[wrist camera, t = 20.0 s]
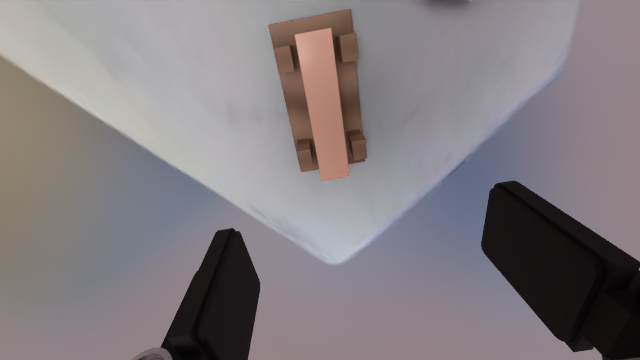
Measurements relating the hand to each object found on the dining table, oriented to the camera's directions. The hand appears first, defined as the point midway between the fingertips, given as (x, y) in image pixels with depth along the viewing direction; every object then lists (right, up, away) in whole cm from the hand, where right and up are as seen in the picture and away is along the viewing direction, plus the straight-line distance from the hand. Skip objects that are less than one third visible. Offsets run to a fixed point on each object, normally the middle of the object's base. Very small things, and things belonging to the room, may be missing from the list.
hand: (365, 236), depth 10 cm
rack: (-1, +12, +23) cm, 26 cm away
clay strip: (-1, +11, +23) cm, 25 cm away
